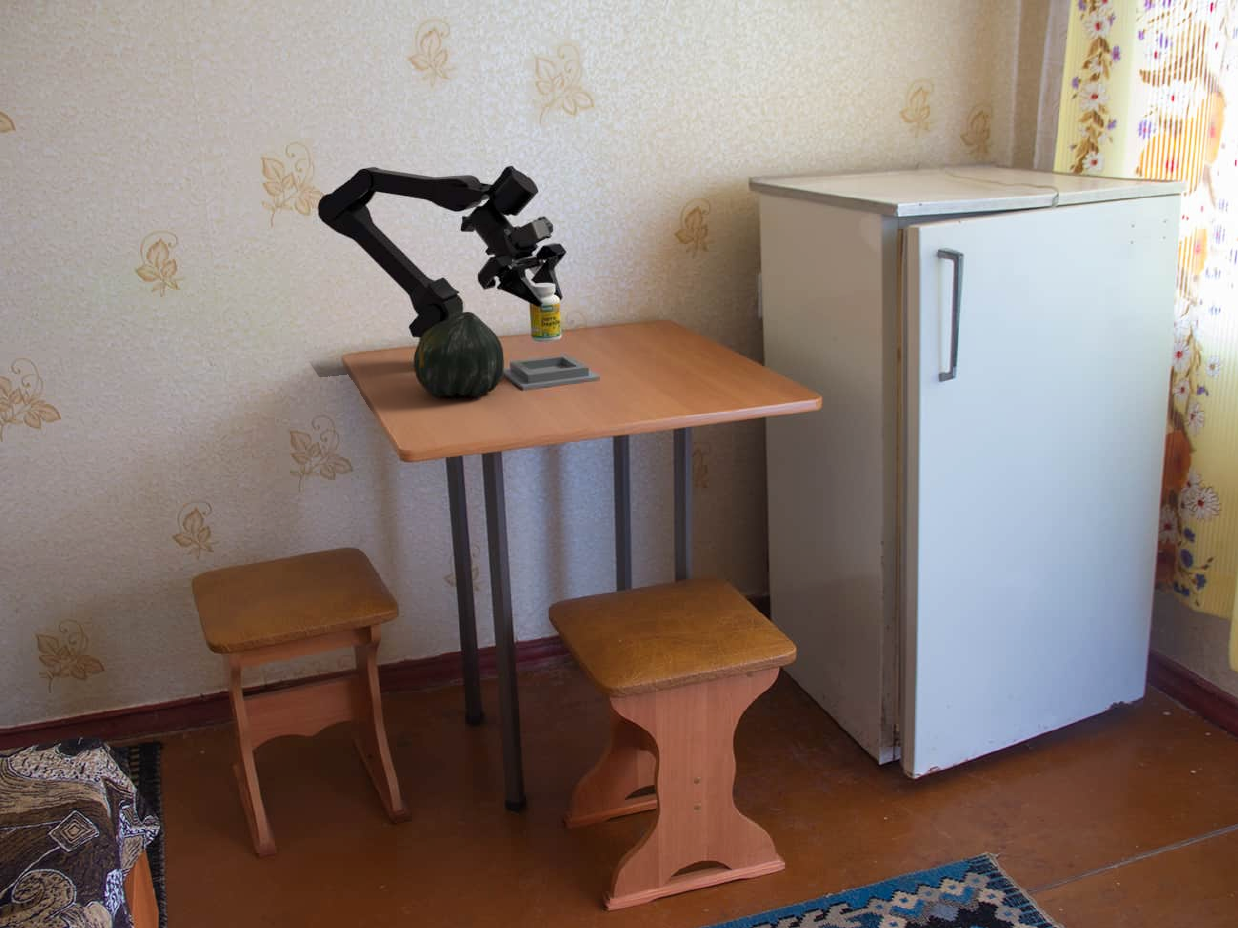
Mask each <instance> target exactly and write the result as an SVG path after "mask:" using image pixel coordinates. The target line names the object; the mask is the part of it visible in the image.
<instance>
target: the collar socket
mask: <svg viewBox="0 0 1238 928" xmlns="http://www.w3.org/2000/svg"><path fill="white" fill-rule="evenodd" d="M502 376H504V377H505V378H507V379H509V381H511V382H512V383H513V384H514V385H516V386H517V387H519V388H520V389H521V390H522V391H527V390H528V391H529V390H533V389H534V390H535V389H541V388H543V389H544V388H549V387H551V388H552V387H557V386H565V385H572V384H578V383H586V382H594V381H595V382H596V381H600V380H601V376H599V375H598V374H597V373H595V372H594V371H592V370H590V369H589V367H588V366H587V365H586V364H584V363H583V362H580V361H579V360H577V359H575V357H573V356H571V355H570V354H559V355H553V356H552V355H551V356H545V357H544V356H543V357H536V358H530V359H529V358H528V359H521V360H514V361H509V367H506V368H505V367H504V371H503V375H502Z"/></svg>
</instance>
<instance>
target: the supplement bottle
mask: <svg viewBox="0 0 1238 928" xmlns="http://www.w3.org/2000/svg"><path fill="white" fill-rule="evenodd" d="M531 285H532V286H533V288H534V289H535V291H536V292H537V294H538V295H539V297H540V299H541V301H542V305H541V306H540V307H537V306H535V305H533V304H531V303H529V302H528V303H529V316H530V332H531V339H532V340H533V341H534V342H539V343H547V342H548V343H549V342H555V341H558V340H561V338H562V336H563V335H562V333H563V332H562V331H563V330H562V315H561V301H560V299H559V297H558V296H556V295H554V293H555V291H556V290H555V284H553V283H538V284H535V283H534V284H531Z"/></svg>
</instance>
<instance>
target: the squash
mask: <svg viewBox="0 0 1238 928" xmlns="http://www.w3.org/2000/svg"><path fill="white" fill-rule="evenodd" d="M504 368H505V358H504V349H503V346H502V343H501V341H500V339H499V337H498V335H497V334H496V333H495V332H494V331H493V329H491V327H489V326H488V325H487V324H486V323H485V322H483V320H482V319H481V318H480V317H479V316H477V315H476V314H475V313H474V312H471V311H463V313H459V314H456V315H454V316H452V317H450V318H448V319H447V320H445V321H443V322H440V323H438V324H436V325H434V326H433V327H432V328H430V329H429V330H428V331H427V332H426V333H425V334H424V335H423V336H422V338H421V339H420V341H418V343H417V346H416V348H415V352H414V355H413V369H414V373H415V377H416V379H417V381H418V382H419V384H420V385H421V387H422V388H423V389H424V390H425V391H427V392H428V393H429V394H430V395H433V396H435V397H445V396H450V397H453V396H455V395H456V394H458V395H459V396H466V395H467V396H469V397H472V398H480V397H482V396H484V395H485V394H487V393H490V392H492V391H493V390H495V388H496V387H497V386H498V385H499V383H500V382H501V380H502V378H503V376H504V375H503V371H504Z"/></svg>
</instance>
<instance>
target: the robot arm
mask: <svg viewBox="0 0 1238 928" xmlns="http://www.w3.org/2000/svg"><path fill="white" fill-rule="evenodd" d="M376 193H382V194H388V195H394V196H400V197H401V196H402V197H407V198H412V199H413V198H414V199H420V200H425V201H429V202H431V203H432V204H434V205H436V206H438V207H440V208H443V209H446V210H449V211H452V212H455V213H460V212H464V211H466V210H470V209H474V210H473V211H472V212H471V213H470V214H468V215H467V216H466V215H463V216H462V217H461V219H462V220H461V224H460V232H461V233H464V232H465V233H474V232H476V234H477V235H478V236H479V237H480V238H481V240H482V241H483V243H484V244H485V246H486V247H487V248H486V250H485V251H484V252H485V254H486V255H487V256H489V258H488V259H487V260H486V262H485V263H484V265H483V266H482V268H481V269H480V270H479V271H478V273H477V282H478V284H479V285H480V287H481V288H482V289H483V290H488V289H493V288H495V287H496V283H497V280H498V281H499V284H498V285H497V287H496V289H497V290H498V291H503V292H506V293H508V294H510V295H513V296H514V297H517V298H519V299H521V300H524V301H525V302H528V303H531V304H533V305H535V306H537V307H540V306H541V305H542V301H541V299H540V297H539V295H538V294H537V292H536V291H535V289H534V288H533V286H532V285H533V284H532V283H534V284H538V283H553V284H555V290H556V291H555V293H554V295H556V296H558V297H559V299H560V302H561V300H562V299H563V294H562V291H561V288H560V284H559V282H558V279H557V276H556V271H555V270H556V269H555V268H556V267H557V265H558V264H559V263H560V261H561V260H562V259H563V258H564V257H565V255H566V254H567V251H566V249H565V247H564V246H563V245H562V244H561V243H559V242H557V243H556V242H554V243H549V244H545V245H542V246H541V248H540V249H539V250H538V251H537V249H538V248H539V245H538V244H539V243H540V242H542V241H544V240H546V239H547V240H548V239H550V238H552V233H554V225H553V223H552V222H551V221H550V220H549V218H547V217H546V216H539V217H538V218H537V219H534V220H533V221H530V222H528V223H525V224H524V225H522V226H520V225H518V226H513V225H512V223H511V222H510V221H509V219H508V218H507V217H510V216H513V217H517V216H519V214H520V213H522V211H523V210H524V209H525V208H526V207H527V206H528V205H529V203H530V202H531V201H532V200H533V199H534V198H535V197H536V195H538V194H539V188H538V186H537V185H536V183H535V182H534V180H533V179H532V178H531V177H529V176H528V175H526V174H524V173H523V172H522V171H519V170H517V169H516V168H515V167H514V166H513V165H509V166H506V167H505V168H504V169H503V170H502V172H501V173H500V175H499V176H498V178H496V179H495V181H494V182H493V183H492V184H490V183H485V182H481V181H480V179H479V178H478V177H477V176H475V175H471V174H466V175H465V174H464V175H449V176H448V175H447V176H435V177H434V176H429V175H421V174H415V173H408V172H401V171H395V170H394V171H393V170H390V169H389V170H388V169H382V168H378V167H376V166H371V167H365V168H360V169H359V170H357V172H355V174H353V176H352V177H350V178H349V179H348V180H346V181H345V182H344V183H343V184H341V185H340V186H338V187H336V189H335V190H333V192H331V193H327V194H325V195H323V196H322V197H321V198H320V199H319V201H318V205H317V211H318V213H317V215H318V218H319V219H320V220H321V222H322V223H324V224H325V225H326V226H327V227H329V228H330V229H332V230H333V231H334V232H336V234H337V233H338V234H339V235H342V236H344V237H346V238H349V239H351V240H353V241H354V242H355V243H356V244H357V245H358V246H359V247H360V248H361V249H363V251H364V252H365V253H366V254H367V255H369V257H371V259H373V261H374V262H375V263H376V264H377V265H378V266H379V267H380V268H381V269H382V270H383V271H385V273H386V274H387V275H389V276H390V278H391V279H392V280H393V281H395V282H396V284H397V285H398V286H400V288H401V289H402V290H404V292H405V293H406V294H407V295H408V297H409V298H410V303H411V305H412V307H413V310H414V311H415V313H416V314H417V316H416V317H415V319H413V320H412V322H411V323H410V324H409V325H408V329H409V331H410V334H411V336H412V337H413V338H419V339H418V340H419V341H420V339H421V338H422V336H423V335H424V334H425V333H426V332H427V331H428V330H429V329H430V328H432V327H433V326H434V325H436V324H438V323H440V322H443V321H445V320H447V319H448V318H450V317H452V316H454V315H456V314H459V313H463V312H464V301H463V299H462V298H461V296H460V291H459V290H457V289H455V288H454V287H453V286H452V285H451V284H450V282H449V281H448V280H447V279H446V278H445V277H441V278H438V279H436V280H434V279H432V278H430V277H429V276H427V275H426V274H425V273H424V272H423V271H422V270H421V269H420V268H419V267H418V266H417V265H416V264H415V263H414V262H413V261H412V259H410V258H409V257H408V256H407V255H406V254H405V253H404V252H403V251H402V250H401V249H400V248H399V247H398V246H397V245H396V244H395V243H394V241H392V240H391V239H390V238H389V237H388V236H387V235H386V234H385V233H384V232H383V230H381V229H380V228H379V227H378V226H377V225H376V223H375V222H374V221H373V217H372V215H371V211H370V209H369V208H368V206H367V205H368V204H369V203H370V202H371V201H372V200H373V198H374V196H375V195H376ZM485 200H486V202H485V203H484V204H482V202H483V201H485ZM480 204H482V205H480ZM536 251H537V252H536ZM534 252H536V254H535V255H534ZM490 256H491V257H490ZM527 270H529V271H530V272H531V273H532V274H533V275H534V276H532V278H531V279H530V281H531V282H532V283H531V282H530V281H529V279H528V278H527V276H526V275H527V274H526V271H527ZM496 277H497V278H498V279H497V280H496ZM419 341H418V342H419Z"/></svg>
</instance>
